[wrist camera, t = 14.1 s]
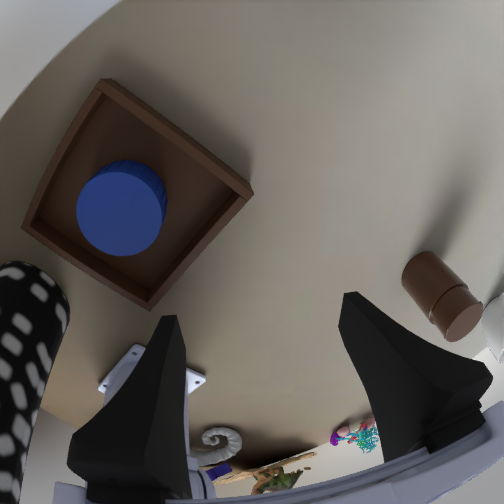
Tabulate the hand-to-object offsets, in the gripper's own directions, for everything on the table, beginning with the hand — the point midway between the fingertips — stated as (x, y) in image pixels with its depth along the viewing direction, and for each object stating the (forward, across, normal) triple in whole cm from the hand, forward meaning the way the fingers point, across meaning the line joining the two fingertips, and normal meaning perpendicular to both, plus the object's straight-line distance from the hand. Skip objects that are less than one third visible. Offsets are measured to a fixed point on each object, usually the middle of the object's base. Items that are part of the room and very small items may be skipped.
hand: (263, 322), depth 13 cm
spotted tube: (+10, +19, +5) cm, 22 cm away
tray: (+9, +7, -3) cm, 12 cm away
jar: (+9, -16, +6) cm, 20 cm away
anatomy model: (+7, -15, +31) cm, 35 cm away
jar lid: (+7, +7, -3) cm, 10 cm away
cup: (+10, -32, +14) cm, 37 cm away
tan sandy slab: (+1, 0, +45) cm, 45 cm away
